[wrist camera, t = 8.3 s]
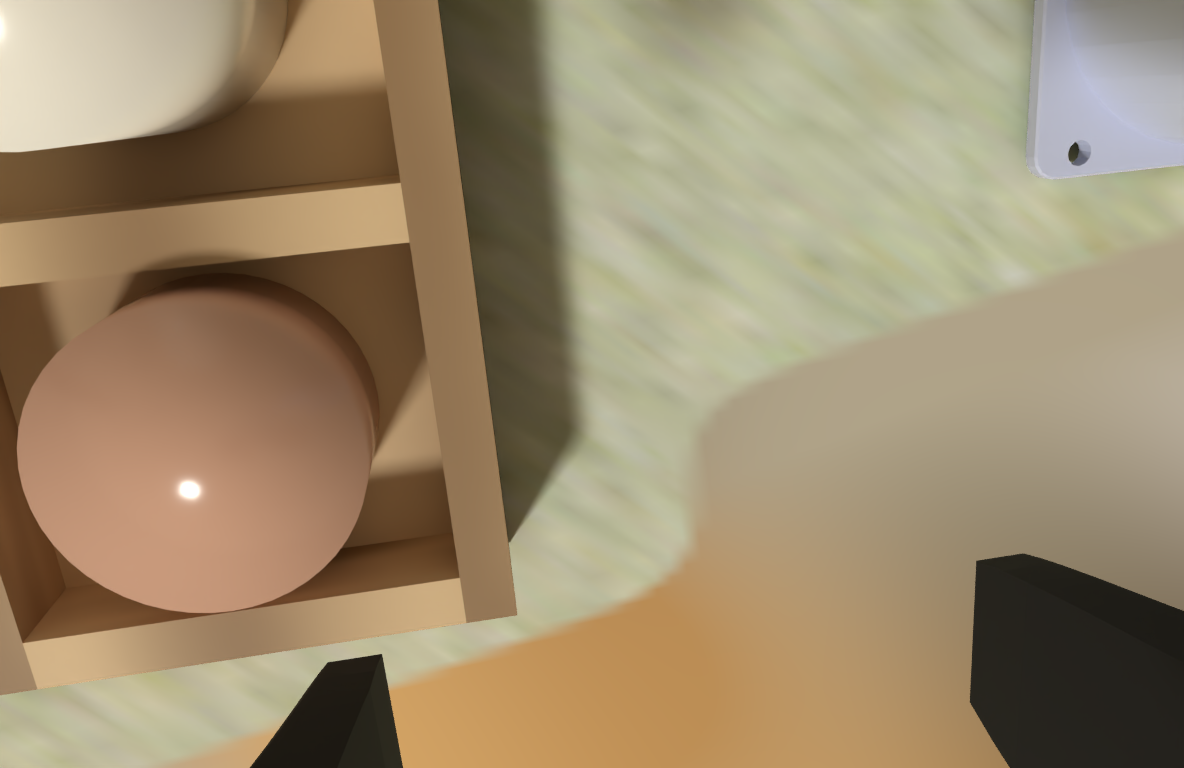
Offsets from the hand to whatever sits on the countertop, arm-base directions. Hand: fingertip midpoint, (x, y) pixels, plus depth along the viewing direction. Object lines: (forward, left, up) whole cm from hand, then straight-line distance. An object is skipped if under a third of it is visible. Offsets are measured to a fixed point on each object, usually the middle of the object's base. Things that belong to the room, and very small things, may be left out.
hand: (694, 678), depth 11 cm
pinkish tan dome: (+7, -1, -9) cm, 11 cm away
